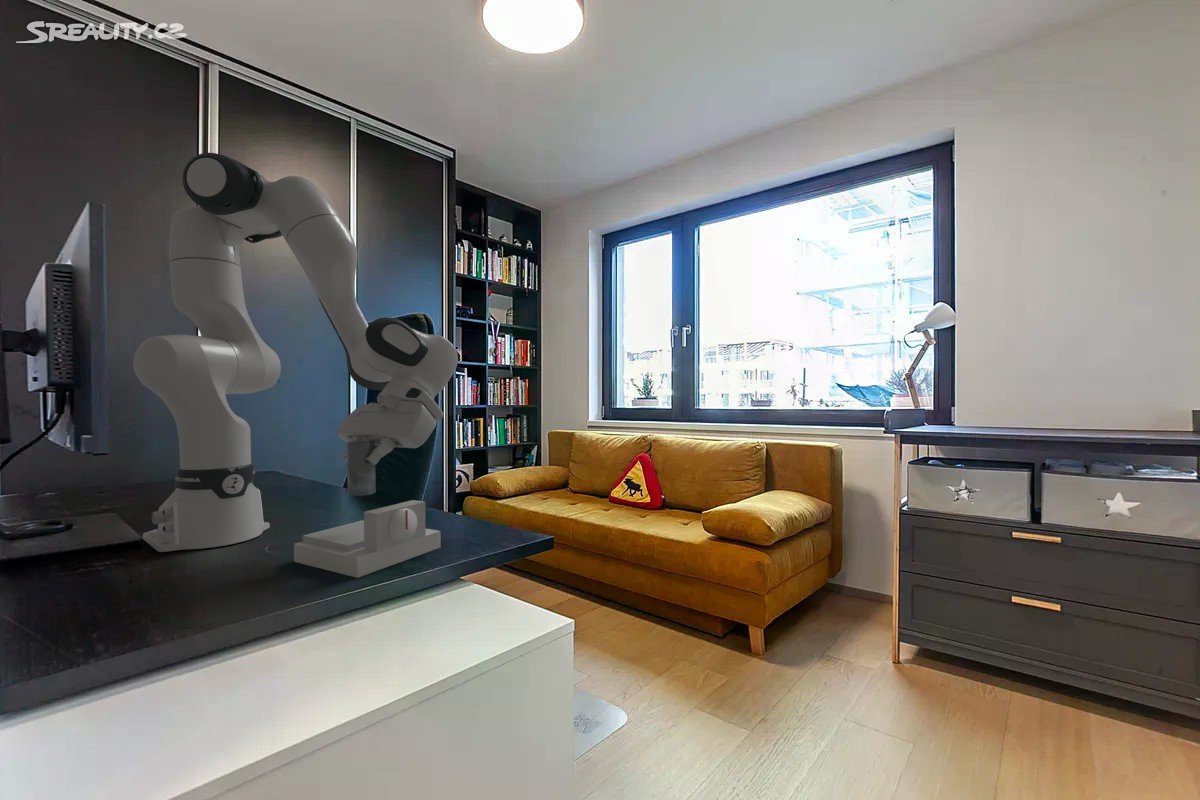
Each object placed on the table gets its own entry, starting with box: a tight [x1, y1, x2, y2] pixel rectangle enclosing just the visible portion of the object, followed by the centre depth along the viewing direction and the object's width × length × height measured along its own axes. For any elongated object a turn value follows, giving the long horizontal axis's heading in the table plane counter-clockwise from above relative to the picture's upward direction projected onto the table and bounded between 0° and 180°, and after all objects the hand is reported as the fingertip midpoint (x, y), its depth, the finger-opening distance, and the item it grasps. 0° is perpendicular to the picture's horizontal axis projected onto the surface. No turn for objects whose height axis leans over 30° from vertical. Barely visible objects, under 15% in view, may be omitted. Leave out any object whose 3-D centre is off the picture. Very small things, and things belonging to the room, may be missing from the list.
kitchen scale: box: [293, 499, 442, 578], centre depth 90 cm, size 16×17×9 cm
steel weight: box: [346, 441, 376, 497], centre depth 90 cm, size 4×4×9 cm
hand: (358, 461), depth 90 cm, fingers closed on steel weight, 4 cm apart
